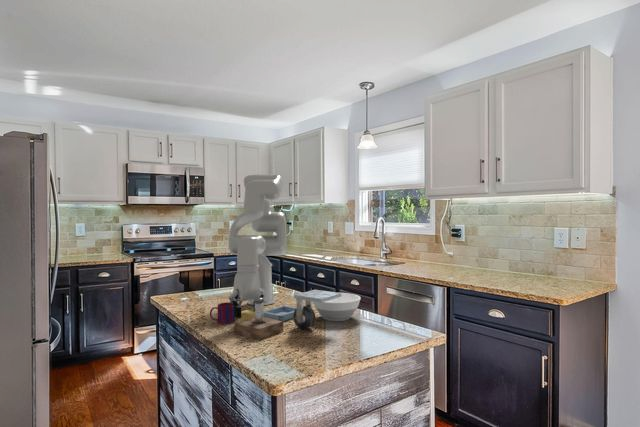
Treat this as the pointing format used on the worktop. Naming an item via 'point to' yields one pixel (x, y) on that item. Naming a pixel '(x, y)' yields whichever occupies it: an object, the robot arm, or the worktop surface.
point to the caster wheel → (310, 306)
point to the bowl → (338, 307)
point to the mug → (224, 313)
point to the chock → (246, 315)
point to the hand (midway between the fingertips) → (247, 315)
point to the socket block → (258, 328)
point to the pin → (259, 310)
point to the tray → (280, 313)
